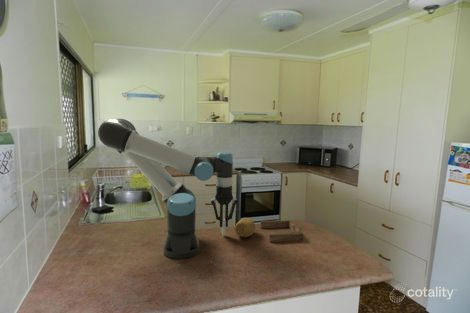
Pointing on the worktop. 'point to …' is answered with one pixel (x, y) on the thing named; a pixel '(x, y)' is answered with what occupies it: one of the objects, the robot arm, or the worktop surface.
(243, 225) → the potato
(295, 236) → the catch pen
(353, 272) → the worktop surface
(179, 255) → the robot arm
